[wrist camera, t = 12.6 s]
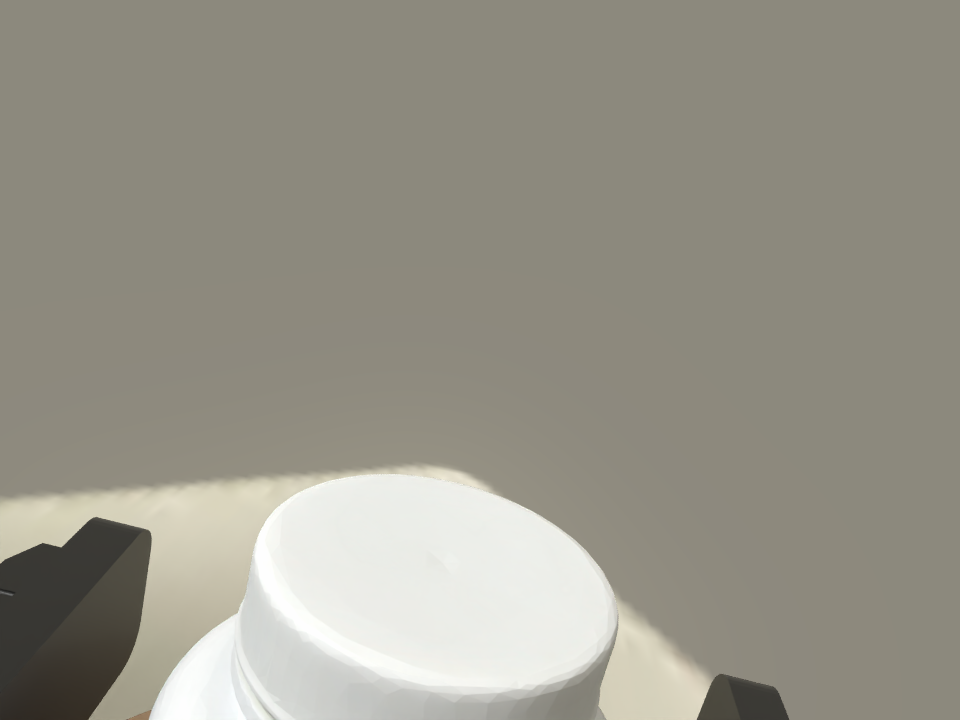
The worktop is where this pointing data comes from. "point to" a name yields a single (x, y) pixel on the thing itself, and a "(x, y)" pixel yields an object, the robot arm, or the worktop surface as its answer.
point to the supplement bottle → (405, 613)
